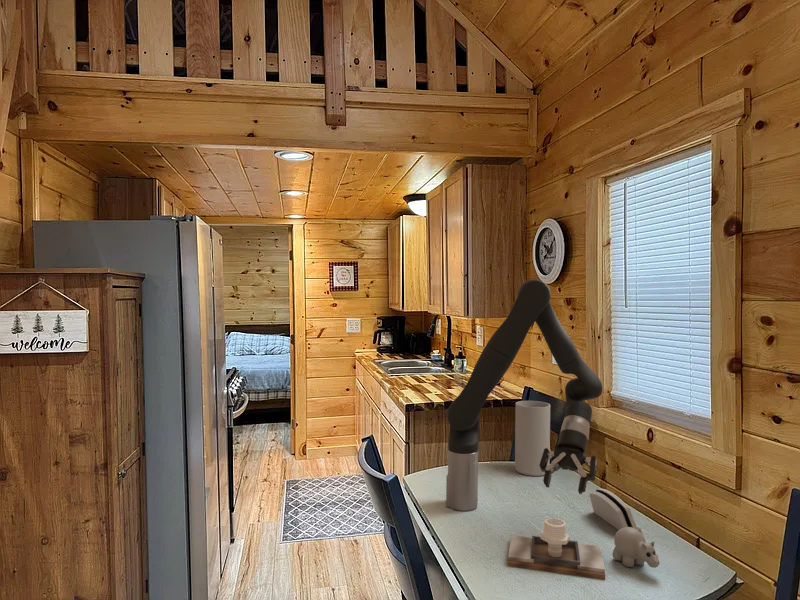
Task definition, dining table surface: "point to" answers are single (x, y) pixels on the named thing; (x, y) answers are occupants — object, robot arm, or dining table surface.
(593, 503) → the white striped curved block
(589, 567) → the base
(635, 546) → the chubby cartoon animal
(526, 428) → the cylinder vase
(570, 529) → the dining table surface
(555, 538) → the pipe fitting
